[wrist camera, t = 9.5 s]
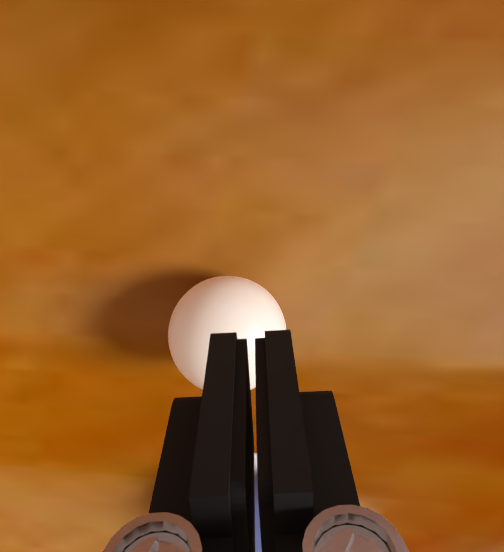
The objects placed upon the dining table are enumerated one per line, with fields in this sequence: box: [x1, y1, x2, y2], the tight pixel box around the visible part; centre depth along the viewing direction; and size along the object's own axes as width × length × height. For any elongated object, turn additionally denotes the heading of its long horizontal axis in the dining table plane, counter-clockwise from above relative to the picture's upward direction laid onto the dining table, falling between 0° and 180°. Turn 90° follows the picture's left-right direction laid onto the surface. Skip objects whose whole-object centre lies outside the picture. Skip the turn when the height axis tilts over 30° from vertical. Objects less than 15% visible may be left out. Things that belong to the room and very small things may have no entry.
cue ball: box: [168, 276, 286, 390], centre depth 22 cm, size 6×6×6 cm
